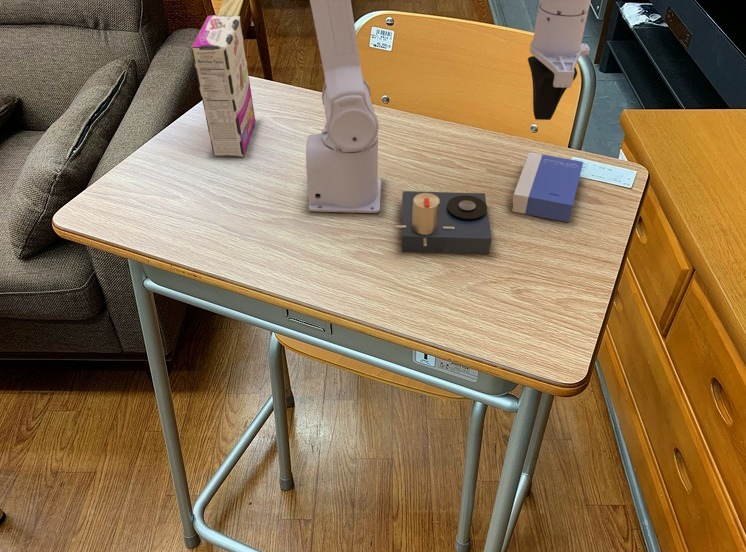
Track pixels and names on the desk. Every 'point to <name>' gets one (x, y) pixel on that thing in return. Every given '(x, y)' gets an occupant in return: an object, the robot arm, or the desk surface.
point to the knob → (425, 213)
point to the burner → (466, 208)
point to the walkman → (547, 187)
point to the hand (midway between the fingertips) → (542, 117)
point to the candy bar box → (224, 85)
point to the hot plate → (445, 229)
